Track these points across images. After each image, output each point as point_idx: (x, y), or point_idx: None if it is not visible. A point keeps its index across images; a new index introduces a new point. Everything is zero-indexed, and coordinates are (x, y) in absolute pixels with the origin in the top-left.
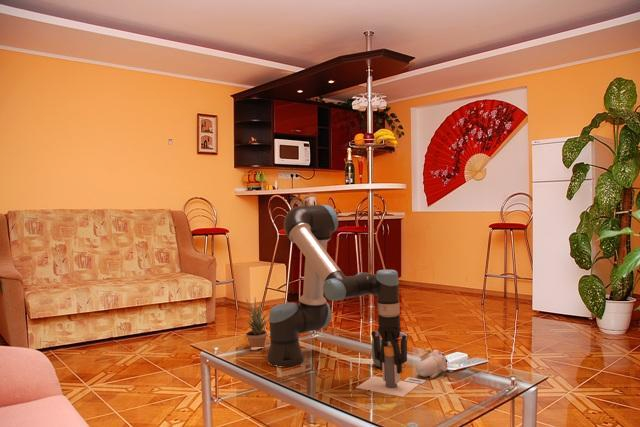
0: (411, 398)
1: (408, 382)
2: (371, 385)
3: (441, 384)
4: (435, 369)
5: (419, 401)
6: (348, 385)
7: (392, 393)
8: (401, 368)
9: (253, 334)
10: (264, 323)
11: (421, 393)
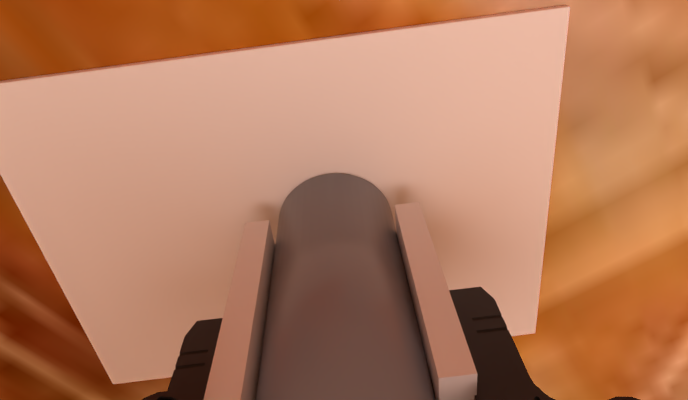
0: (599, 308)
1: (434, 34)
2: (176, 301)
3: None
4: None
5: (673, 318)
6: (18, 370)
7: None
8: (508, 343)
9: None
10: None
11: (652, 190)
